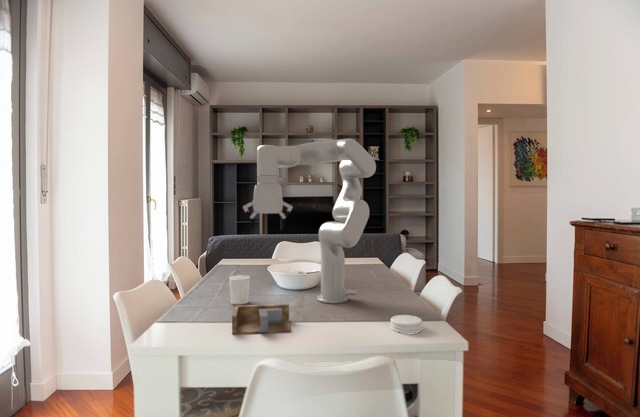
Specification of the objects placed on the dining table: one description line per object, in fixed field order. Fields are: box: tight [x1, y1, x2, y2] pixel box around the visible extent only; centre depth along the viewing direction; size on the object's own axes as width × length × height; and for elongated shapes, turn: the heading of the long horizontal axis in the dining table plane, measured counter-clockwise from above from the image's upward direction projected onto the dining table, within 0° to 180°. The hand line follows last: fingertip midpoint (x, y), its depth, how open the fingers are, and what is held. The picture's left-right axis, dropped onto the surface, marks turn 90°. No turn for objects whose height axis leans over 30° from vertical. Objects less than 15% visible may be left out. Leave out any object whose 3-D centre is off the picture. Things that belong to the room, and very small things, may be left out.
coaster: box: [390, 314, 423, 334], centre depth 137 cm, size 10×10×4 cm
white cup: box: [228, 274, 251, 306], centre depth 167 cm, size 8×8×10 cm
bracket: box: [259, 308, 282, 332], centre depth 135 cm, size 8×7×5 cm
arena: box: [231, 303, 292, 335], centre depth 138 cm, size 18×12×6 cm, turn 97°
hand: (267, 229), depth 150 cm, fingers open, 9 cm apart
